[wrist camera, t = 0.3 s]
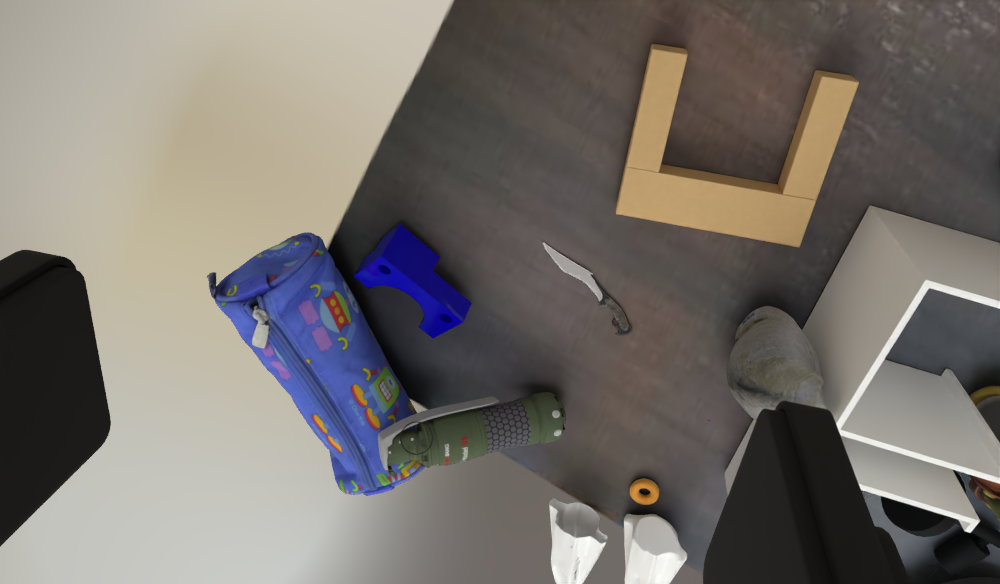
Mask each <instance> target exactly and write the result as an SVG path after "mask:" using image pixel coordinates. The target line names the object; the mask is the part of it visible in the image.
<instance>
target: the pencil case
mask: <svg viewBox="0 0 1000 584" xmlns="http://www.w3.org/2000/svg"><path fill="white" fill-rule="evenodd" d="M207 278H208V280H209V287H210V292H211V295H212V297H213V298H214V299H215V302H216V304H217V305H218V306H219V308H220V309H221V310H222V311H223V312H224V313H225V314H226V315H227V316H228V317H229V318H230V319H231V321H232V322H233V324H234V325H235V327H236V329H237V330H238V332H239V334H240V336H241V337H242V339H243V340H244V341H245V343H247V345H248V346H249V347H250V348H251V349H252V350H253V351H254V353H255V354H256V355H257V357H258V358H259V360H260V361H261V362H262V364H263V365H264V366H265V367H266V369H267V370H268V371H269V372H270V373H272V374H273V375H274V377H275V378H276V379H277V380H278V382H279V383H280V384H281V385H282V386H283V388H284V389H285V390H286V391H287V392H288V393H289V394H290V395H291V397H292V399H293V401H294V403H295V404H296V406H297V408H298V410H299V411H300V413H301V414H302V416H303V417H304V419H305V420H306V422H307V423H308V424H309V426H310V427H311V429H312V430H313V431H314V433H315V434H316V435H317V436H318V438H319V439H320V440H321V441H322V442H323V443H324V445H325V446H326V447H327V448H328V449H329V450H330V456H331V461H332V467H333V471H334V475H335V480H336V482H337V484H338V487H339V488H340V490H341V491H342V492H344V493H346V494H350V495H356V494H362V493H364V495H366V496H368V495H373V494H378V493H383V492H386V491H389V490H392V489H394V487H395V486H396V485H399V484H401V483H404V482H405V481H408V480H410V479H411V478H413V477H414V476H415V475H417V474H418V473H419V472H420V471H422V470H423V469H424V468H425V467H426V466H425V465H424V466H422V465H421V464H420V463H419V459H417V460H410V461H408V462H404V463H400V464H396V465H391V467H392V469H393V470H394V472H396V474H395V476H394V477H390V476H389V474H388V472H387V470H385V468H384V467H383V465H382V462H381V459H380V454H379V446H378V434H379V433H380V432H381V431H382V430H384V429H386V428H388V427H389V426H391V425H393V424H394V423H396V422H398V421H400V420H402V419H404V418H407V417H409V416H411V415H414V414H417V412H416V410H415V409H414V407H413V405H412V403H411V401H410V399H409V397H408V396H407V394H406V392H405V390H404V389H403V387H402V385H401V383H400V381H399V380H398V379H397V377H396V376H395V374H394V372H393V371H392V369H391V367H390V365H389V363H388V361H387V359H386V358H385V356H384V354H383V352H382V350H381V348H380V346H379V344H378V342H377V340H376V338H375V336H374V334H373V333H372V331H371V329H370V327H369V326H368V324H367V322H366V319H365V317H364V315H363V313H362V311H361V309H360V307H359V305H358V303H357V301H356V299H355V297H354V295H353V294H352V292H351V290H350V289H349V287H348V285H347V284H346V282H345V280H344V278H343V277H342V275H341V273H340V272H339V270H338V269H337V268H336V267H335V264H334V261H333V259H332V257H331V255H330V254H329V253H328V251H327V249H326V248H325V245H324V243H323V240H322V239H321V238H320V237H319V236H316V235H314V234H312V233H302V234H298V235H296V236H292V237H291V238H288V239H287V240H285V241H284V242H282V243H280V244H278V245H276V246H274V247H271V248H270V249H267V250H265V251H263V252H261V253H259V254H257V255H256V256H254V257H253V258H251V259H250V260H249V261H247V262H246V263H245V264H243V265H242V266H241V267H240V268H238V269H237V270H235V271H234V272H232V273H231V274H229V275H228V276H227V277H225V278H224V279H223V280H222V281H221V282H220V283H219V284H218V286H216V273H210V274H209V275H208V276H207ZM409 428H411V429H412V430H413V426H411V427H409ZM409 428H407V429H409ZM414 430H415V428H414ZM420 460H421V458H420ZM421 463H422V461H421Z"/></svg>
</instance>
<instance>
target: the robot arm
mask: <svg viewBox="0 0 1000 584" xmlns="http://www.w3.org/2000/svg"><path fill="white" fill-rule="evenodd" d="M110 425H111V421H110V414H109V409H108V403H107V399H106V392H105V387H104V381H103V376H102V371H101V365H100V360H99V354H98V349H97V344H96V338H95V332H94V327H93V322H92V317H91V311H90V305H89V300H88V294H87V289H86V283H85V280H84V277H83V275H82V274H81V273H80V272H79V271H77V270H76V267H75V265H74V264H73V263H72V262H71V260H69V259H67V258H65V257H61V256H56V255H51V254H46V253H41V252H36V251H31V250H21V251H18V252H15V253H13V254H12V255H10V256H8V257H6V258H4V259H2V260H1V261H0V546H1V545H2V544H3V543H4V542H5V541H6V540H7V539H8V538H9V537H10V536H11V535H12V534H13V533H14V532H15V531H16V530H17V529H18V528H19V527H20V526H21V525H22V524H23V523H24V522H25V521H26V520H27V519H28V518H29V517H30V516H31V515H32V514H33V513H34V512H35V511H36V510H37V509H38V508H39V507H40V506H41V505H43V503H45V502H46V501H47V500H48V499H49V498H50V497H51V496H52V495H53V494H54V493H55V492H56V491H57V490H58V489H59V488H60V486H62V485H63V484H64V483H65V482H66V481H67V480H68V479H69V478H70V477H71V476H72V475H73V474H74V473H75V472H76V471H77V470H78V469H79V468H80V467H81V466H82V465H83V464H84V463H85V462H86V461H87V460H88V459H89V458H90V457H91V456H92V455H93V454H94V453H95V452H96V451H97V450H98V449H99V448H100V447H101V446H102V444H103V443H104V442H105V440H106V438H107V436H108V433H109V431H110ZM703 584H911V583H910V580H909V578H908V575H907V573H906V570H905V568H904V565H903V563H902V560H901V558H900V555H899V553H898V550H897V548H896V545H895V543H894V541H893V540H892V538H891V536H890V534H889V533H888V532H886V531H885V530H884V529H883V528H880V527H876V526H874V524H873V521H872V518H871V516H870V513H869V510H868V508H867V505H866V502H865V500H864V497H863V494H862V492H861V489H860V486H859V484H858V481H857V478H856V476H855V473H854V470H853V468H852V465H851V462H850V460H849V457H848V454H847V452H846V449H845V446H844V444H843V441H842V438H841V436H840V433H839V430H838V428H837V425H836V422H835V420H834V417H833V415H832V413H831V412H830V411H829V410H827V409H824V408H819V407H814V406H809V405H804V404H799V403H793V402H788V401H781V402H780V403H779V404H778V405H777V406H776V408H775V410H771V409H766V408H765V409H762V411H761V412H760V413H759V416H758V418H757V420H756V423H755V426H754V428H753V431H752V434H751V436H750V439H749V442H748V444H747V447H746V450H745V452H744V455H743V458H742V460H741V463H740V466H739V468H738V471H737V474H736V476H735V479H734V482H733V484H732V487H731V490H730V492H729V495H728V497H727V500H726V503H725V505H724V508H723V511H722V513H721V516H720V519H719V521H718V524H717V527H716V529H715V532H714V535H713V537H712V540H711V543H710V545H709V548H708V551H707V554H706V558H705V563H704V571H703Z"/></svg>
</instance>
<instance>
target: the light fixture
mask: <svg viewBox="0 0 1000 584" xmlns="http://www.w3.org/2000/svg"><path fill="white" fill-rule="evenodd" d="M952 470H953V469H952ZM953 472H954V474H955V475H956V477H957V479H958V481H959V483H960V485H961V486H962V488H963V490H964V492H965V494H966V490H965V486H964V483H963V481H962V479H961V477H960V476H959V475H958V473H957V472H956V471H955V470H953ZM881 501H882V507H883V509H884V512H885V514H886V515H887V517H888V518H889V520H890V521H891V522H892V523H893V524H895V525H896V526H898V527H899V528H901V529H903V530H905V531H907V532H908V533H911V534H913V535H916V536H922V537H929V536H935V535H939V534H941V533H943V532H945V531H947V530H948V529H950V528H951V527H952V526H953V525H954V524H955V523H956V524H958V525H959V526H961V524H960V522H959V520H958V519H955V518H952V517H949V516H945V515H942V514H939V513H935V512H932V511H929V510H926V509H922V508H919V507H916V506H913V505H909V504H906V503H903V502H900V501H896V500H893V499H890V498H886V497H883V496H881ZM961 527H962V526H961ZM989 543H990V544H993V545H994V546H996V547H998V548H1000V532H999V531H997V530H995V529H994V528H992V527H990V526H988V525H987V524H985V523H983V522H982V521H980V522H979V523H978V524H977V526H976V527H975V528H974V529H973V530H972V532H971V533H969V532H964V533H962V534H960V535H959V536H957V537H955V538H953V539H952V540H950V541H948V542H947V543H945V544H943V545H941V546H940V547H938V548H936V549H935V550H934V554H935V557H936V558H937V560H938V561H939V563H940V564H941V565H942V566H941V567H943V568H944V569H945V570H946V571H948V572H949V573H950V574H952V575H955V574H956V573H958V572H960V571H962V570H964V569H966V568H967V567H969V566H971V565H973V564H975V563H976V562H978V561H980V560H982V559H983V558H985V557H987V556H989V555H990V552H989V550H988V548H987V546H986V545H987V544H989ZM939 563H938V564H939ZM936 565H937V564H936ZM925 569H926V568H925ZM936 570H937V569H936ZM936 570H935V571H936ZM918 573H919V572H918ZM933 574H934V573H933ZM930 576H931V575H930ZM909 578H910V577H909ZM923 580H924V579H923ZM916 584H917V583H916Z"/></svg>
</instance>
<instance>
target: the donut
mask: <svg viewBox="0 0 1000 584" xmlns="http://www.w3.org/2000/svg"><path fill="white" fill-rule="evenodd" d="M708 422H709V423H710V420H708ZM641 488H646V489H648V490H649V491H650V494H648V495H643V494H641V493H640V492H639V490H640V489H641ZM630 495H631V497H632V499H633V500H634V501H636V502H637V503H640V504H643V505H649V504H652V503H654V502H656V500H657V499H658V497H659V488H658V486H657V484H656V483H655V482H653V481H652V480H650V479H645V478H642V479H639V480H636V481H634V482H633V483H632V485H631V487H630Z"/></svg>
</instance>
